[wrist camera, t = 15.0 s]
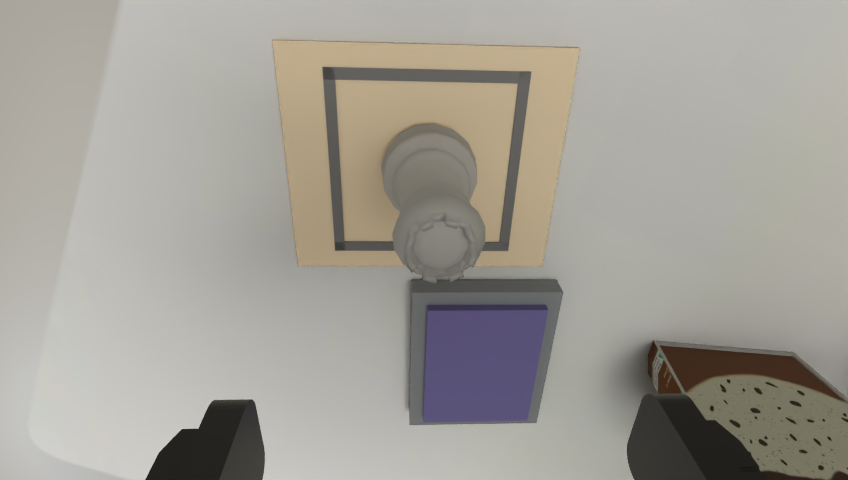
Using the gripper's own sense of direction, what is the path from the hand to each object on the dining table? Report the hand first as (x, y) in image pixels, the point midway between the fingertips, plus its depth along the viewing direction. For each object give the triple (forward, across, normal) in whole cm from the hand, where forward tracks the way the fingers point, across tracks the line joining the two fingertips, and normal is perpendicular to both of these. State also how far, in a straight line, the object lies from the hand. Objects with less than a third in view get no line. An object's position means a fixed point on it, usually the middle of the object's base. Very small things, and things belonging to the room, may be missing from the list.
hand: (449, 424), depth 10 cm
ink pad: (+15, -4, +11) cm, 19 cm away
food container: (+15, -19, +14) cm, 28 cm away
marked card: (+15, 0, 0) cm, 15 cm away
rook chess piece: (+15, 0, 0) cm, 15 cm away
